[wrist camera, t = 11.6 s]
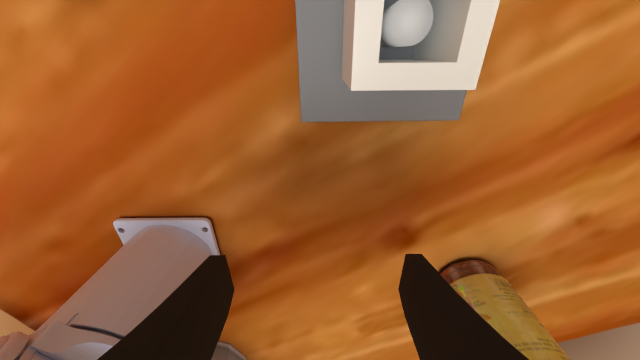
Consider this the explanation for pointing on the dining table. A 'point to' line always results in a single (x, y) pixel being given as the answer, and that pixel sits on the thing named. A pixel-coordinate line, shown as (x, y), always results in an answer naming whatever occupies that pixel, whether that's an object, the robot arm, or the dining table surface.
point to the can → (227, 352)
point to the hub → (418, 47)
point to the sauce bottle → (502, 309)
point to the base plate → (396, 43)
